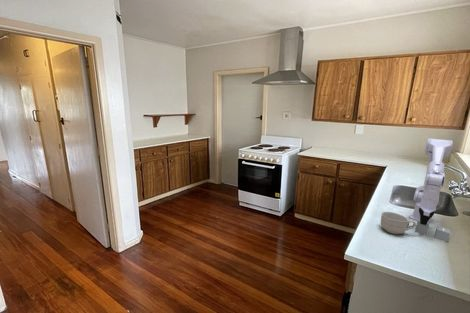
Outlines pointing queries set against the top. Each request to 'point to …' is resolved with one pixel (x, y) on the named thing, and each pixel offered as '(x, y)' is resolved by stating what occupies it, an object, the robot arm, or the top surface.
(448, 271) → the top surface
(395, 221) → the teacup
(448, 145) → the robot arm
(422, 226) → the plain block
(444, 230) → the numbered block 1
